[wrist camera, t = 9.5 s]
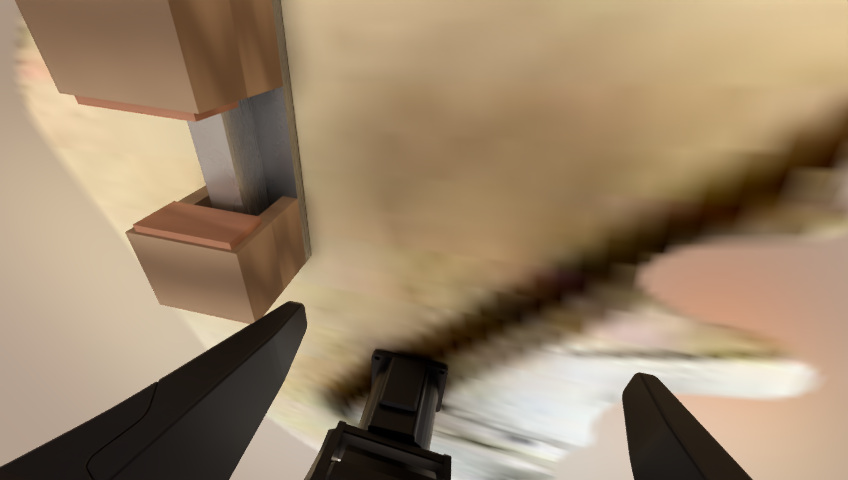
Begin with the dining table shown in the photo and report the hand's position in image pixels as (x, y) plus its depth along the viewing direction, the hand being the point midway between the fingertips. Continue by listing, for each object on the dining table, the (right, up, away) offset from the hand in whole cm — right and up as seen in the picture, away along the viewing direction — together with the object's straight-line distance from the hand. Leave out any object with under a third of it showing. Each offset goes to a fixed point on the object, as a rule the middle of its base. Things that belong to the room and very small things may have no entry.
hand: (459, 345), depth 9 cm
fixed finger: (-12, +4, +14) cm, 19 cm away
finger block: (-11, +13, +7) cm, 19 cm away
